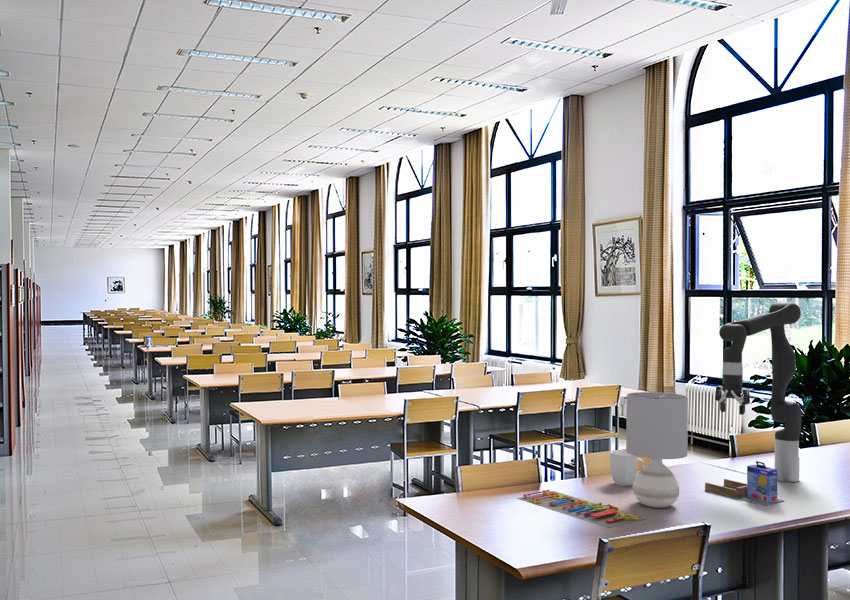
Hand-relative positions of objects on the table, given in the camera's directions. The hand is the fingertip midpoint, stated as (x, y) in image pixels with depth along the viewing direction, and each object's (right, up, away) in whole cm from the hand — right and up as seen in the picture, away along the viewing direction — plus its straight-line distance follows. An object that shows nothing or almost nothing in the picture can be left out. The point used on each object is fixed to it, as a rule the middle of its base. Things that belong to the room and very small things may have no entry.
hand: (732, 413), depth 310 cm
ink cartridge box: (+3, -30, -20) cm, 36 cm away
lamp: (-39, -30, -28) cm, 57 cm away
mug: (-42, -30, +4) cm, 52 cm away
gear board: (-69, -30, -33) cm, 82 cm away
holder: (-4, -30, -7) cm, 31 cm away
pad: (+3, -30, -20) cm, 36 cm away
